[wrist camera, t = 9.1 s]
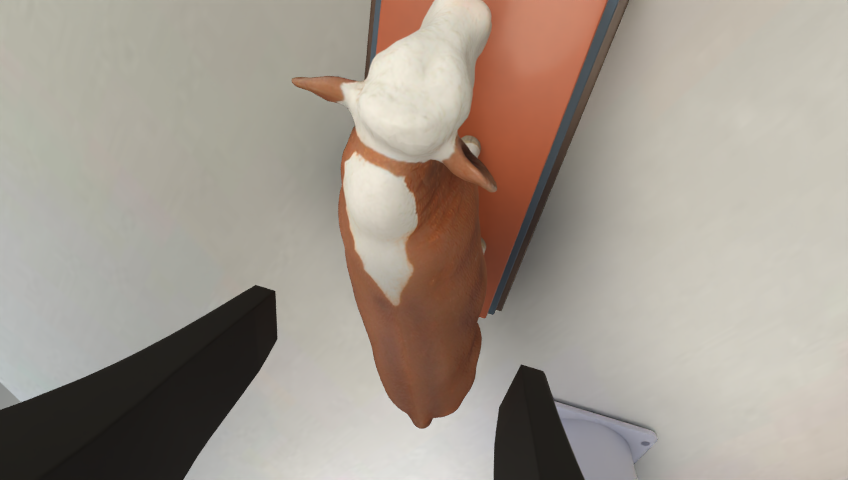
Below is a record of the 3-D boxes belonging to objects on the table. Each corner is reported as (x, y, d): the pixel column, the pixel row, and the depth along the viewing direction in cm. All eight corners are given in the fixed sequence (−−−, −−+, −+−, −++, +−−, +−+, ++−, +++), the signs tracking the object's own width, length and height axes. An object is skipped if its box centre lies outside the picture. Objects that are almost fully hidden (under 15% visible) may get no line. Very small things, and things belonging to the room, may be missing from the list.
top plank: (487, 306, 20) (485, 319, 19) (359, 269, 21) (352, 280, 20) (606, -9, 12) (612, -9, 12) (395, -55, 13) (386, -58, 12)
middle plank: (494, 302, 21) (493, 315, 20) (356, 263, 22) (349, 273, 21) (622, -24, 13) (629, -24, 12) (391, -73, 13) (382, -77, 13)
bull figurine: (524, -13, 12) (523, -17, 5) (485, 313, 19) (463, 487, 12) (386, -12, 13) (231, -16, 6) (399, 300, 20) (335, 457, 13)
